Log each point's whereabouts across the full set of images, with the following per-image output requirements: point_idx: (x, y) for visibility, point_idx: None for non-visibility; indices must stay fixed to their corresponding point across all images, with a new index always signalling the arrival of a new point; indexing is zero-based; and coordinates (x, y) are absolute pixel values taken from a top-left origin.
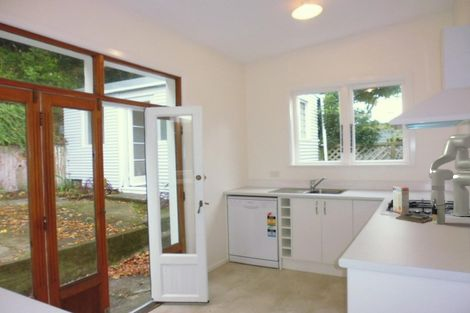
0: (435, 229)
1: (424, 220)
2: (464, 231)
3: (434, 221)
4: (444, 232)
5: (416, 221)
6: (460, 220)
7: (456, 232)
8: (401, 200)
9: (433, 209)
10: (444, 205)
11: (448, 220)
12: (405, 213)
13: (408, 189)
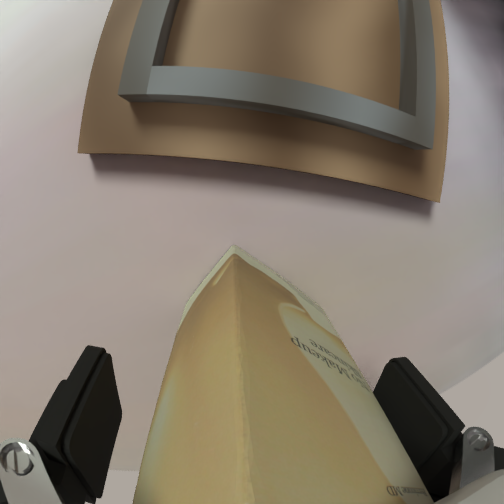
0: (3, 347)
1: (177, 152)
2: (118, 467)
3: (205, 285)
4: (4, 396)
5: (91, 91)
6: (457, 366)
7: None
8: None
9: (39, 447)
10: (442, 497)
11: (435, 317)
12: None
13: None
